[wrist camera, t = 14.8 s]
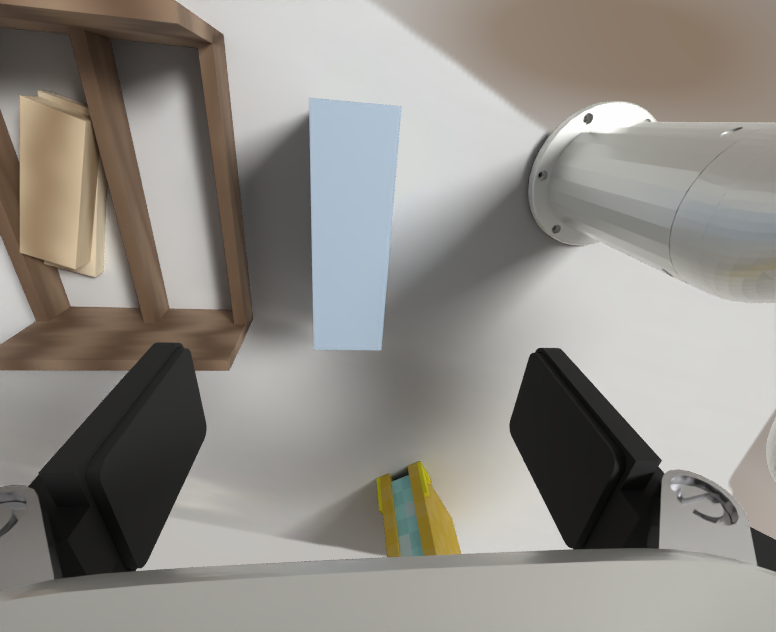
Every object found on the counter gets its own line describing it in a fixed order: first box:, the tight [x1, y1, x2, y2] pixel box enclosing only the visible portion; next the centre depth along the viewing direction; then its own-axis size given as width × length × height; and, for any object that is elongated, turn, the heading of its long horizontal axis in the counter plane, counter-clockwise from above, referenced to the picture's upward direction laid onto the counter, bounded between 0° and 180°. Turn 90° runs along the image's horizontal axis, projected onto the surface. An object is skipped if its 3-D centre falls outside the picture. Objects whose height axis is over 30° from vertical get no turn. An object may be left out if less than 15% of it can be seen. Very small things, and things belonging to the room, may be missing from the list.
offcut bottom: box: [38, 90, 107, 277], centre depth 31 cm, size 4×14×2 cm, turn 160°
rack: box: [0, 0, 253, 371], centre depth 28 cm, size 18×24×9 cm
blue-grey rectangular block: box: [309, 98, 401, 350], centre depth 29 cm, size 5×16×12 cm, turn 176°
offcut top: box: [20, 95, 100, 269], centre depth 29 cm, size 4×12×2 cm, turn 157°
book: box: [376, 461, 461, 557], centre depth 44 cm, size 17×7×25 cm, turn 24°
